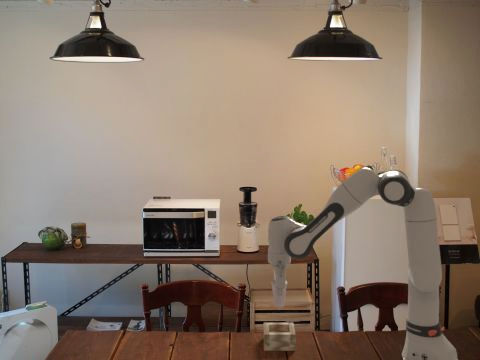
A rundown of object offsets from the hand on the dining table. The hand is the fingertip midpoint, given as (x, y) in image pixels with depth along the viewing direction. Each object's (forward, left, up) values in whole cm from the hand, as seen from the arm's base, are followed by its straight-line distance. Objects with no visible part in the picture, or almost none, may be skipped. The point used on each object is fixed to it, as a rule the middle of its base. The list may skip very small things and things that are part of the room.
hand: (279, 292), depth 243 cm
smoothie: (0, 0, -6) cm, 6 cm away
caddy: (0, 0, -21) cm, 21 cm away
